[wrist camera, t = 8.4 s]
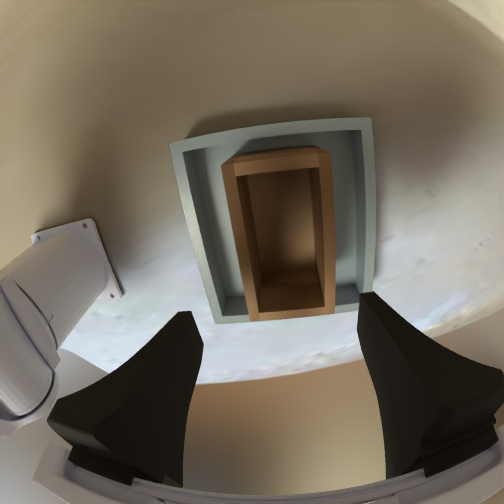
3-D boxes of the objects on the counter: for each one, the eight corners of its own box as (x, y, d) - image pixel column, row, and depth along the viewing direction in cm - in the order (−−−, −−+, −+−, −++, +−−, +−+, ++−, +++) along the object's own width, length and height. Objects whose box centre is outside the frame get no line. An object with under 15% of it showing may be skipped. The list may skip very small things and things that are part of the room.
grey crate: (221, 300, 23) (215, 324, 20) (184, 139, 17) (168, 143, 14) (360, 286, 21) (370, 308, 18) (356, 117, 15) (371, 117, 13)
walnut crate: (255, 277, 20) (250, 321, 16) (234, 153, 16) (220, 165, 12) (322, 270, 20) (334, 313, 15) (314, 144, 16) (330, 153, 11)
